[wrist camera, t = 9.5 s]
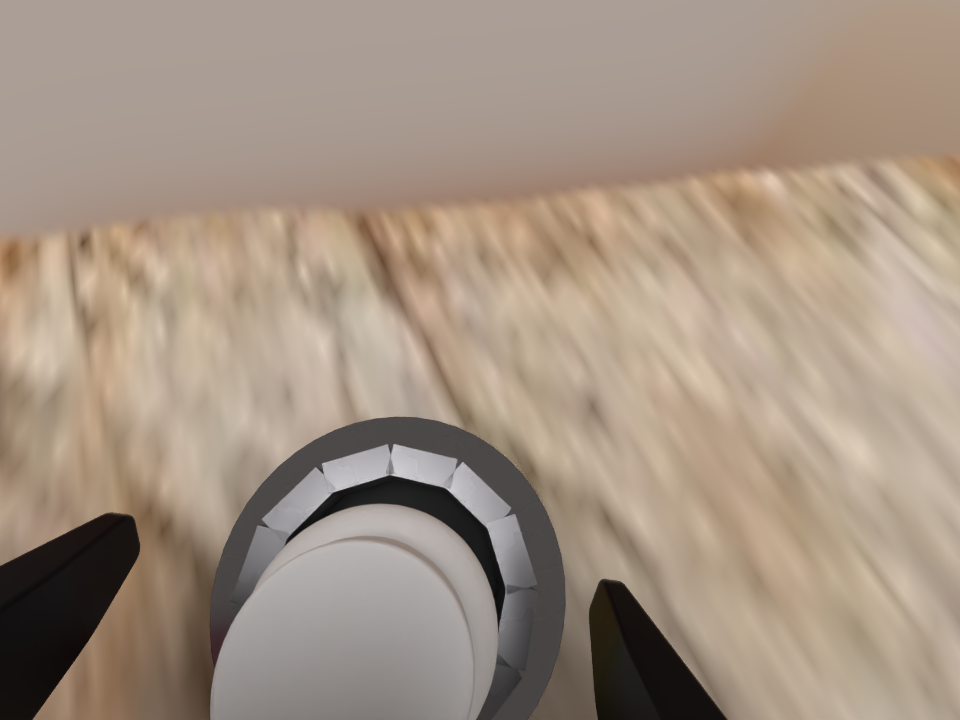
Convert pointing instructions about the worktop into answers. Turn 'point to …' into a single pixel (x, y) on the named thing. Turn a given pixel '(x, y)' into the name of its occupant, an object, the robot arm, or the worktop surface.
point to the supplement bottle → (363, 625)
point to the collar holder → (440, 493)
